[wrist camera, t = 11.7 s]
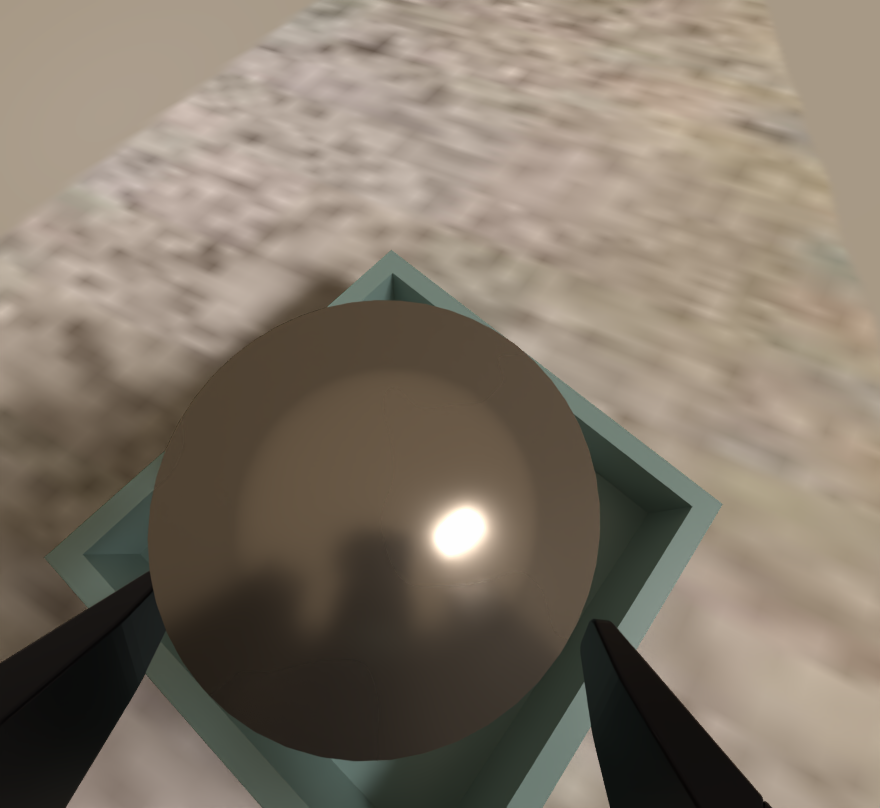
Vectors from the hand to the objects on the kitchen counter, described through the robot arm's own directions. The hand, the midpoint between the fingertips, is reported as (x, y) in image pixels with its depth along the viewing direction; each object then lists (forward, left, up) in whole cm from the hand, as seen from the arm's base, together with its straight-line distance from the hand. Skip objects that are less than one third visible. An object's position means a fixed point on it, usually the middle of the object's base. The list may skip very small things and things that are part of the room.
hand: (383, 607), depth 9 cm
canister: (+2, +1, -8) cm, 8 cm away
